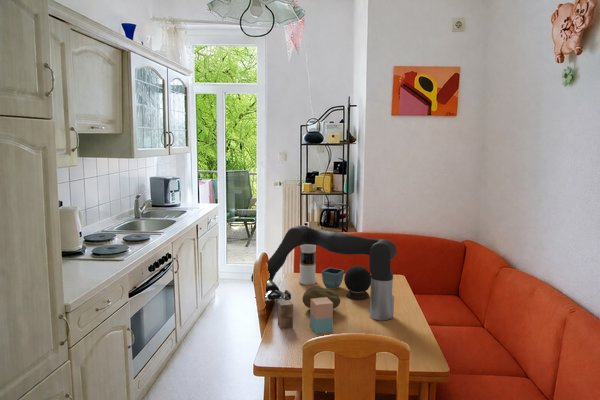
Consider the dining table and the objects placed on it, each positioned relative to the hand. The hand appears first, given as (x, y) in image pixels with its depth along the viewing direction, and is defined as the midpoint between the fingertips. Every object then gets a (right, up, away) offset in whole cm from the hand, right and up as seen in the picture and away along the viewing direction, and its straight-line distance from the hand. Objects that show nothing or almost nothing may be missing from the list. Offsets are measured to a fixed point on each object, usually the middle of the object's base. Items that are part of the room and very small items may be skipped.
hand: (278, 302), depth 191 cm
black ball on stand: (+37, -3, +26) cm, 45 cm away
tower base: (+18, -8, -12) cm, 23 cm away
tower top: (+18, -2, -13) cm, 22 cm away
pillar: (+3, -8, -10) cm, 13 cm away
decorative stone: (+19, -6, +8) cm, 21 cm away
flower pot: (+26, -1, +38) cm, 46 cm away
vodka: (+13, 0, +45) cm, 47 cm away
